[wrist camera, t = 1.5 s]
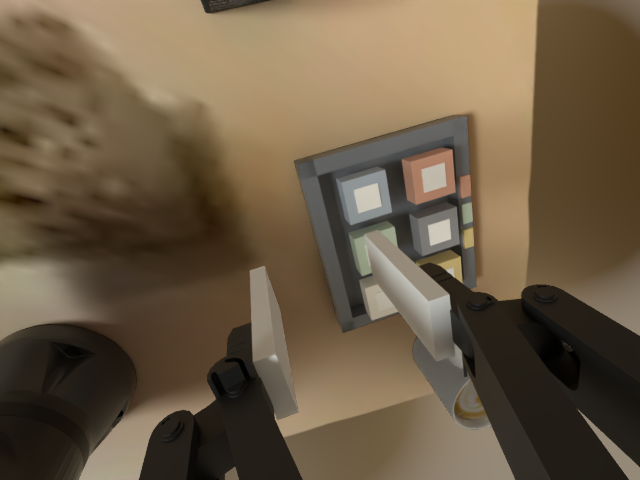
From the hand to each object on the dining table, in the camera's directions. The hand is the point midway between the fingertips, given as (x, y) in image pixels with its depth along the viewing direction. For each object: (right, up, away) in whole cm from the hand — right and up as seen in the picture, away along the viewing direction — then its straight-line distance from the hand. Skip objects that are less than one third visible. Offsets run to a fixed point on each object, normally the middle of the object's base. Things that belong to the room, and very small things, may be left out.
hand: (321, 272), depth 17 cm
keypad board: (+8, +3, +22) cm, 24 cm away
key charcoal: (+12, +3, +20) cm, 24 cm away
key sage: (+5, +1, +19) cm, 20 cm away
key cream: (+7, -4, +22) cm, 23 cm away
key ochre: (+14, -2, +22) cm, 26 cm away
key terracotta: (+11, +9, +18) cm, 22 cm away
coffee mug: (+17, -12, +31) cm, 37 cm away
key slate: (+4, +6, +17) cm, 18 cm away
